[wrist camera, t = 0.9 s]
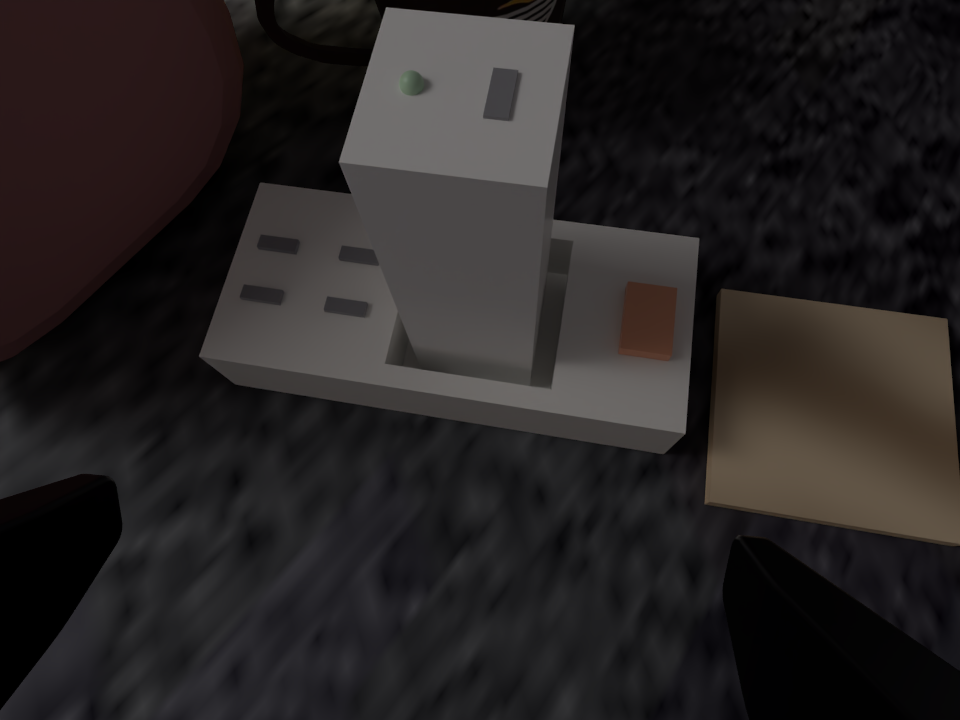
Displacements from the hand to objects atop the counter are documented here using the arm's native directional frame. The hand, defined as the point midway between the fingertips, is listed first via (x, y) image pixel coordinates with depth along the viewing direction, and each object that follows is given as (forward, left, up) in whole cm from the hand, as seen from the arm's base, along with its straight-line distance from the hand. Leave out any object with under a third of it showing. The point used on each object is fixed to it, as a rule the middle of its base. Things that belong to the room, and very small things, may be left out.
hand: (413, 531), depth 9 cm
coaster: (+7, -12, -13) cm, 19 cm away
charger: (+8, +1, -13) cm, 15 cm away
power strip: (+8, +2, -13) cm, 16 cm away
